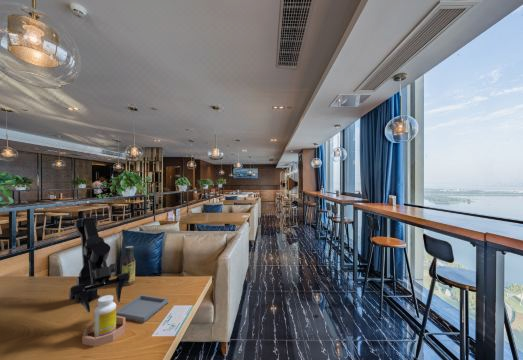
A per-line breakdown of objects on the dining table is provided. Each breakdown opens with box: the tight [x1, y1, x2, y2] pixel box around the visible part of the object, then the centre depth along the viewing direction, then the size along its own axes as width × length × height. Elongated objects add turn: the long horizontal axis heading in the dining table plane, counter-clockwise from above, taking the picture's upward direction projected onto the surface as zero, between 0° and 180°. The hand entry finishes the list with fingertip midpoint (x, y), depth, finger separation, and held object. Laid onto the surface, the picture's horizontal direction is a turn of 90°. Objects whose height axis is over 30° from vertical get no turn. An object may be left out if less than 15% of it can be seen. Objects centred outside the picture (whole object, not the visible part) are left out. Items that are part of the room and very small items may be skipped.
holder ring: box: [81, 316, 127, 348], centre depth 82 cm, size 13×13×2 cm
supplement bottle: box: [93, 294, 117, 338], centre depth 82 cm, size 7×7×13 cm
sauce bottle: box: [121, 245, 136, 287], centre depth 122 cm, size 7×6×20 cm
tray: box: [116, 294, 169, 323], centre depth 97 cm, size 15×15×2 cm
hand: (104, 306), depth 83 cm, fingers open, 9 cm apart
